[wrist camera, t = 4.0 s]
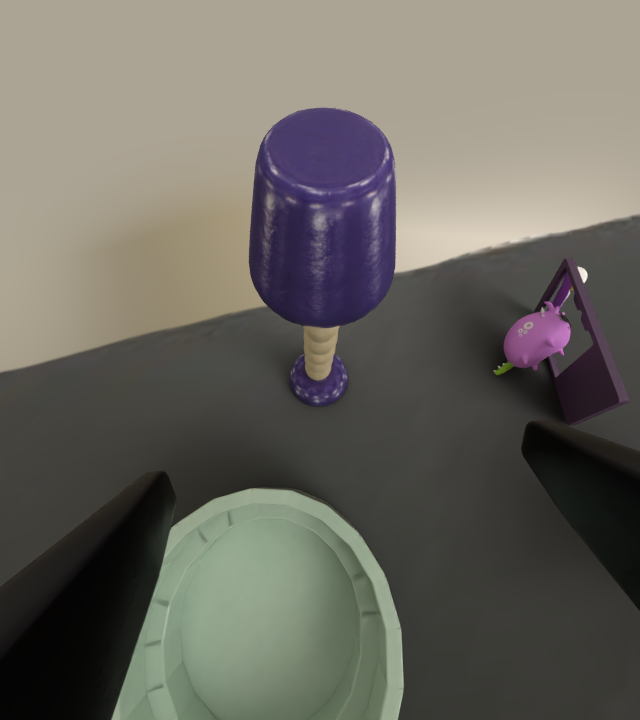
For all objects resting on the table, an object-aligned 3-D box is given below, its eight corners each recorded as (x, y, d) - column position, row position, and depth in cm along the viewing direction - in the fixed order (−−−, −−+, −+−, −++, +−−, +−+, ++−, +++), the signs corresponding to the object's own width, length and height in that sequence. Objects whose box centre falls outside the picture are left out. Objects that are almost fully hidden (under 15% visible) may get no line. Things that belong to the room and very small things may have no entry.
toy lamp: (365, 379, 22) (477, 129, 6) (325, 429, 20) (342, 267, 5) (315, 341, 23) (305, 53, 7) (273, 386, 22) (158, 146, 6)
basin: (406, 533, 18) (432, 549, 14) (338, 824, 14) (347, 975, 9) (223, 457, 20) (198, 451, 16) (110, 695, 15) (32, 774, 11)
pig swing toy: (649, 400, 14) (587, 252, 18) (524, 407, 16) (489, 271, 19) (587, 424, 20) (549, 310, 24) (500, 428, 22) (476, 320, 25)
